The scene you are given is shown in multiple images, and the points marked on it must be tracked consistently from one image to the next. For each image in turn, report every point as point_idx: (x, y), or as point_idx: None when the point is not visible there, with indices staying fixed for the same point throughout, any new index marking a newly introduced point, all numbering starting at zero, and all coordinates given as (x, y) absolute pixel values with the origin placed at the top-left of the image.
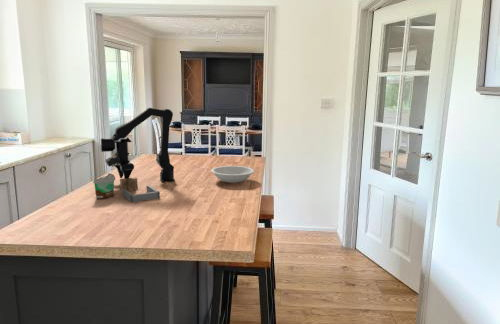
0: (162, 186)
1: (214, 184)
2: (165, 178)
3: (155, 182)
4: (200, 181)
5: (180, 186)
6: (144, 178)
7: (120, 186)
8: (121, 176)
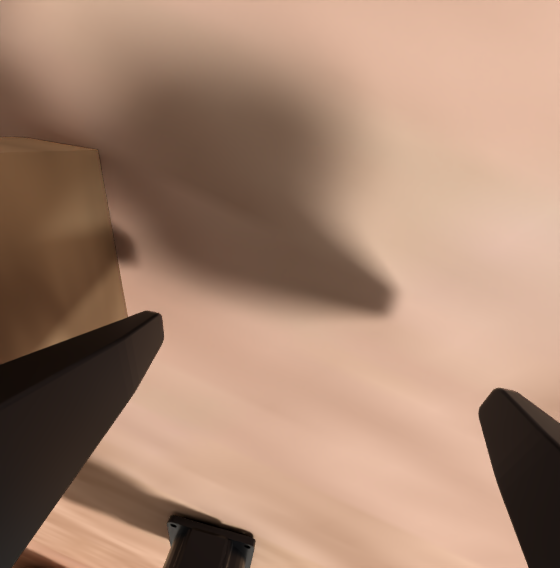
0: None
1: (37, 551)
2: (175, 554)
3: (200, 490)
4: (109, 564)
5: None
6: (396, 528)
7: (56, 149)
8: (502, 432)
